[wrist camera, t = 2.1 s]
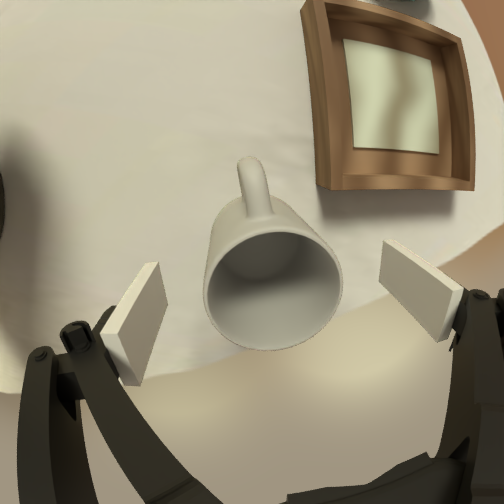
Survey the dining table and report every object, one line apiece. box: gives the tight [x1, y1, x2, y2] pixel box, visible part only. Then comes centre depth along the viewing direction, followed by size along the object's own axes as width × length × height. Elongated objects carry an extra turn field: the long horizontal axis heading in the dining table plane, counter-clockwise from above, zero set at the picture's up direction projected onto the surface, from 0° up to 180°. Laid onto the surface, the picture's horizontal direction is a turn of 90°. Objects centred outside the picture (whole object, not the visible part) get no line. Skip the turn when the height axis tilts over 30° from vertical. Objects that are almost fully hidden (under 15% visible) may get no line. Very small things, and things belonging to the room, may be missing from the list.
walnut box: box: [300, 0, 476, 191], centre depth 20 cm, size 18×18×4 cm
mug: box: [203, 157, 343, 351], centre depth 20 cm, size 12×8×11 cm
